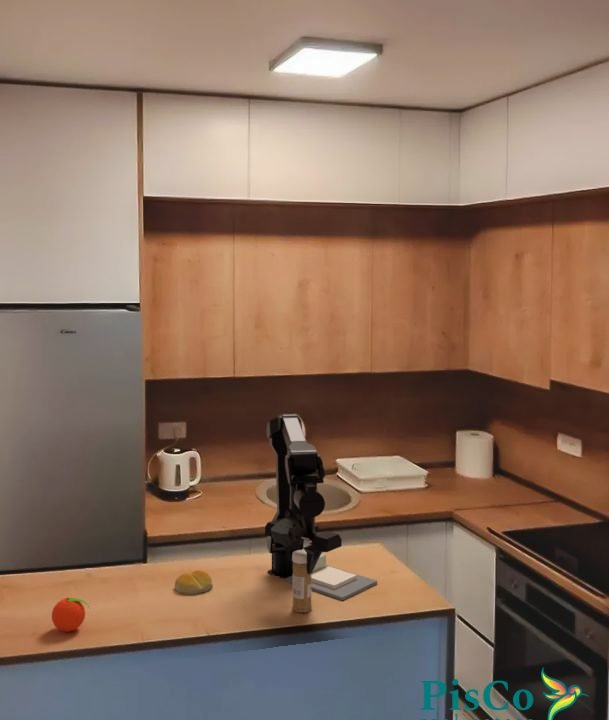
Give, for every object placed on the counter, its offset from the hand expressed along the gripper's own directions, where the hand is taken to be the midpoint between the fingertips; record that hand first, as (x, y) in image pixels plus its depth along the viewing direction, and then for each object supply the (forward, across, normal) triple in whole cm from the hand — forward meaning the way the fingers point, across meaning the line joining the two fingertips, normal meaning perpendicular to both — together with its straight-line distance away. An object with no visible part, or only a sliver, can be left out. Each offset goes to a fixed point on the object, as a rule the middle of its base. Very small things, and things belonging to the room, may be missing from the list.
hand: (302, 571), depth 184 cm
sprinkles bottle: (+9, 0, 0) cm, 9 cm away
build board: (+9, -5, +17) cm, 20 cm away
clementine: (+9, -30, -41) cm, 52 cm away
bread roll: (+10, -28, -8) cm, 31 cm away
